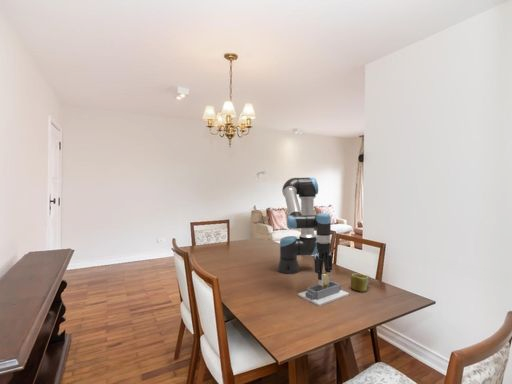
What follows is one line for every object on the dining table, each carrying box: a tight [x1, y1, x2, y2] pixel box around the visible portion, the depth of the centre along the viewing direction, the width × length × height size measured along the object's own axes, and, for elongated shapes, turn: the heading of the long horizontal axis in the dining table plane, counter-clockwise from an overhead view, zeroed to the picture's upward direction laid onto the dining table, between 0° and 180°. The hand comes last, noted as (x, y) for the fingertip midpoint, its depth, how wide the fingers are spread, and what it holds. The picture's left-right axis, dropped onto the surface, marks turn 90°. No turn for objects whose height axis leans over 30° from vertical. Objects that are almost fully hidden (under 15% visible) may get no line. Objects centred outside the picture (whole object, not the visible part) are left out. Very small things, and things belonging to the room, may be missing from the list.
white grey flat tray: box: [297, 280, 350, 307], centre depth 153 cm, size 16×23×5 cm
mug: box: [350, 273, 371, 293], centre depth 160 cm, size 12×10×10 cm
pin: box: [320, 271, 328, 289], centre depth 152 cm, size 4×4×8 cm
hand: (323, 284), depth 153 cm, fingers closed on pin, 3 cm apart
